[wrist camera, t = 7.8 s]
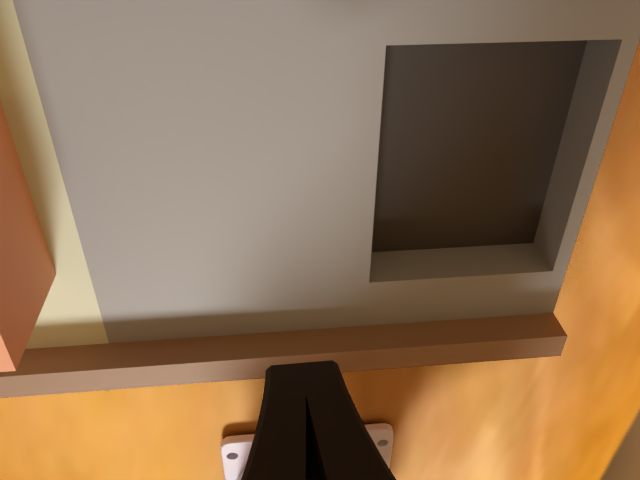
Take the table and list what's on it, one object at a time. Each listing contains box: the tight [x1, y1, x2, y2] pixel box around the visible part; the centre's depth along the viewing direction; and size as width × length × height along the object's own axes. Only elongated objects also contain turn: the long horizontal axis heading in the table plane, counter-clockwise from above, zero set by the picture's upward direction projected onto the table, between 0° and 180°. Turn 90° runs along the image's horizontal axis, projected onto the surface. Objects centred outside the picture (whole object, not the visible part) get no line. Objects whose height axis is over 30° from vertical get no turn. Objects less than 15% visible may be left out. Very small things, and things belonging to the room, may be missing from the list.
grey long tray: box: [0, 0, 640, 398], centre depth 17 cm, size 14×30×3 cm, turn 90°
